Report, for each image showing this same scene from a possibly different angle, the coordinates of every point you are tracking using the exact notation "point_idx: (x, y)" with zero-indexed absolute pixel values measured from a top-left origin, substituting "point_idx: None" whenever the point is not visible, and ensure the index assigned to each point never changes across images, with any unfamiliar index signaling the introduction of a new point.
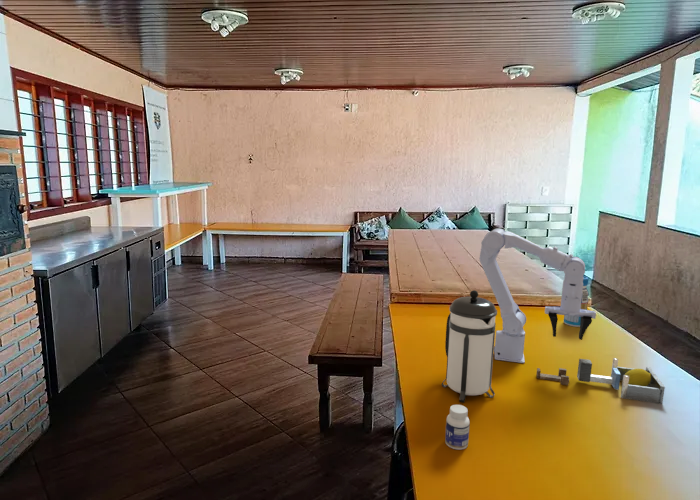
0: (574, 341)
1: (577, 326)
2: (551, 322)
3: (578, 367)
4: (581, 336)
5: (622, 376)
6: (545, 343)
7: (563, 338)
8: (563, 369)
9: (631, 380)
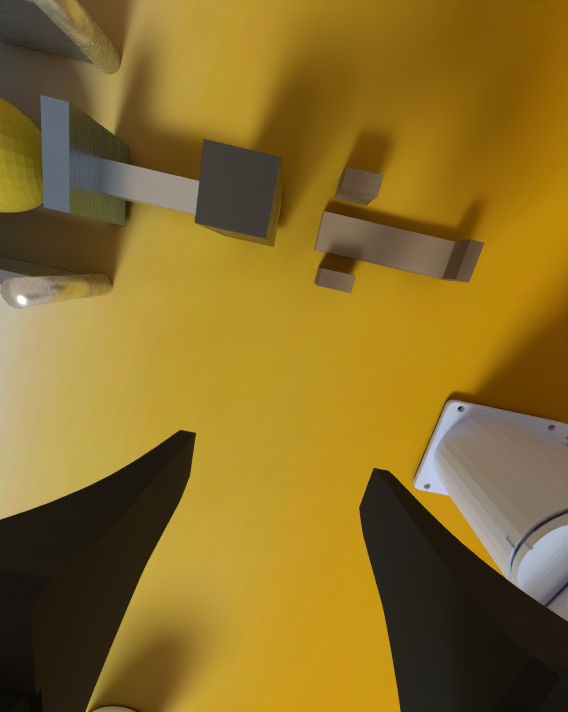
0: (159, 606)
1: (114, 708)
2: (523, 594)
3: (271, 235)
4: (176, 442)
5: (51, 270)
6: (276, 583)
7: (192, 625)
8: (333, 278)
9: (2, 103)
